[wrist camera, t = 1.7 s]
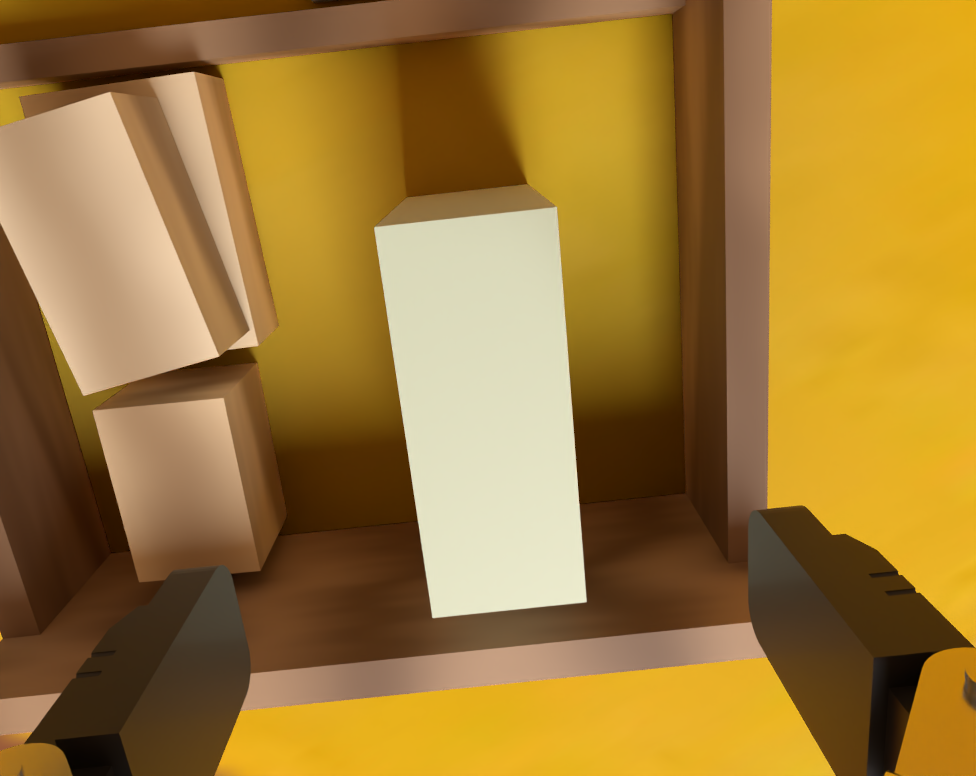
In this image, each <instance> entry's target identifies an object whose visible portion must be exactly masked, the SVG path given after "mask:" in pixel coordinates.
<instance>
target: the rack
mask: <svg viewBox="0 0 976 776" xmlns="http://www.w3.org/2000/svg"><path fill="white" fill-rule="evenodd" d="M672 13H673V50H674V86H675V122H676V159H677V195H678V231H679V267H680V304H681V340H682V376H683V413H684V449H685V485H686V493H683V494H673V495H664V496H654V497H645V498H635V499H626V500H616V501H607V502H597V503H588V504H579V507H580V520H581V533H582V546H583V560H584V573H585V586H586V599H587V602H584V603H574V604H564V605H555V606H545V607H535V608H526V609H516V610H506V611H497V612H487V613H477V614H468V615H458V616H448V617H439V618H432V611H431V604H430V598H429V591H428V584H427V578H426V571H425V564H424V558H423V551H422V544H421V538H420V531H419V524H418V521H416V522H406V523H397V524H387V525H378V526H368V527H359V528H349V529H340V530H330V531H321V532H311V533H301V534H292V535H282V536H277V538H276V540H275V542H274V544H273V546H272V548H271V550H270V552H269V554H268V556H267V559H266V561H265V563H264V565H263V567H262V569H261V571H254V572H244V573H233V574H231V576H232V579H233V583H234V587H235V592H236V596H237V600H238V604H239V609H240V613H241V617H242V621H243V626H244V630H245V634H246V638H247V643H248V647H249V652H250V661H251V674H250V683H249V688H248V692H247V695H246V698H245V700H244V703H243V705H242V708H241V710H240V711H243V710H252V709H262V708H272V707H282V706H292V705H302V704H311V703H321V702H331V701H341V700H351V699H360V698H370V697H380V696H390V695H400V694H409V693H419V692H429V691H439V690H449V689H458V688H468V687H478V686H488V685H498V684H507V683H517V682H527V681H537V680H547V679H556V678H566V677H576V676H586V675H596V674H605V673H615V672H625V671H635V670H645V669H654V668H664V667H674V666H684V665H694V664H703V663H713V662H723V661H733V660H743V659H752V658H762V657H767V656H766V654H765V653H764V651H763V649H762V648H761V646H760V644H759V642H758V640H757V638H756V635H755V633H754V630H753V626H752V622H751V618H750V613H749V604H748V523H749V517H750V514H751V512H752V511H754V510H763V509H767V471H768V360H769V250H770V139H771V29H772V0H388V1H379V2H370V3H362V4H353V5H344V6H335V7H326V8H318V9H309V10H300V11H291V12H282V13H273V14H265V15H256V16H247V17H238V18H229V19H221V20H212V21H203V22H194V23H185V24H176V25H168V26H159V27H150V28H141V29H132V30H124V31H115V32H106V33H97V34H88V35H79V36H71V37H62V38H53V39H44V40H35V41H27V42H18V43H9V44H0V89H6V88H15V87H24V86H33V85H42V84H51V83H60V82H68V81H77V80H86V79H95V78H104V77H113V76H122V75H131V74H139V73H148V72H157V71H166V70H175V69H184V68H193V67H202V66H210V65H219V64H228V63H237V62H246V61H255V60H264V59H273V58H281V57H290V56H299V55H308V54H317V53H326V52H335V51H344V50H352V49H361V48H370V47H379V46H388V45H397V44H406V43H415V42H423V41H432V40H441V39H450V38H459V37H468V36H477V35H485V34H494V33H503V32H512V31H521V30H530V29H539V28H548V27H556V26H565V25H574V24H583V23H592V22H601V21H610V20H619V19H627V18H636V17H645V16H654V15H663V14H672ZM164 581H165V580H159V581H149V582H139V580H138V577H137V573H136V569H135V565H134V562H133V558H132V554H131V551H130V552H120V553H111V552H110V548H109V545H108V541H107V538H106V534H105V531H104V528H103V524H102V521H101V517H100V514H99V511H98V507H97V504H96V500H95V497H94V494H93V490H92V487H91V483H90V480H89V477H88V473H87V470H86V466H85V463H84V459H83V456H82V453H81V449H80V446H79V442H78V439H77V436H76V432H75V429H74V425H73V422H72V419H71V415H70V412H69V408H68V405H67V402H66V398H65V395H64V391H63V388H62V384H61V381H60V378H59V374H58V371H57V367H56V364H55V361H54V357H53V354H52V350H51V347H50V344H49V340H48V337H47V333H46V330H45V326H44V323H43V320H42V316H41V313H40V309H39V306H38V303H37V299H36V296H35V294H34V292H33V290H32V288H31V286H30V284H29V281H28V279H27V277H26V275H25V273H24V271H23V269H22V267H21V265H20V263H19V261H18V259H17V256H16V254H15V252H14V250H13V248H12V246H11V244H10V242H9V240H8V238H7V236H6V234H5V231H4V229H3V227H2V225H1V223H0V632H1V635H2V637H3V639H2V640H1V641H0V735H7V734H17V733H27V732H33V731H34V730H35V728H36V727H37V726H38V724H39V723H40V722H41V720H42V719H43V718H44V716H45V715H46V713H47V712H48V711H49V709H50V708H51V707H52V705H53V704H54V703H55V701H56V700H57V699H58V697H59V696H60V695H61V693H62V692H63V690H64V689H65V688H66V686H67V685H68V684H69V682H70V681H71V680H72V679H74V678H76V673H77V672H78V670H79V669H80V667H81V666H82V665H83V663H84V662H85V661H86V659H87V658H91V653H92V651H93V650H94V649H95V647H96V646H97V644H98V643H99V642H100V640H101V639H102V638H103V636H104V635H105V634H106V632H107V631H108V630H109V628H111V627H112V626H113V625H115V624H116V623H117V622H119V621H120V620H121V619H122V618H124V617H125V616H126V615H128V614H129V613H130V612H132V611H133V610H134V609H135V608H137V607H138V606H146V605H148V604H149V603H150V601H151V600H152V598H153V597H154V596H155V594H156V593H157V591H158V590H159V588H160V587H161V586H162V584H163V583H164Z"/></svg>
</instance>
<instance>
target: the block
mask: <svg viewBox="0 0 976 776" xmlns="http://www.w3.org/2000/svg"><path fill="white" fill-rule="evenodd" d="M374 230H375V237H376V243H377V250H378V257H379V263H380V270H381V277H382V283H383V290H384V297H385V304H386V310H387V317H388V324H389V330H390V337H391V344H392V350H393V357H394V364H395V370H396V377H397V384H398V390H399V397H400V404H401V411H402V417H403V424H404V431H405V437H406V444H407V451H408V457H409V464H410V471H411V477H412V484H413V491H414V497H415V504H416V511H417V518H418V524H419V531H420V538H421V544H422V551H423V558H424V564H425V571H426V578H427V584H428V591H429V598H430V604H431V611H432V618H439V617H448V616H458V615H468V614H477V613H487V612H497V611H506V610H516V609H526V608H535V607H545V606H555V605H564V604H574V603H584V602H587V599H586V586H585V573H584V560H583V546H582V533H581V520H580V507H579V493H578V480H577V467H576V454H575V441H574V427H573V414H572V401H571V388H570V374H569V361H568V348H567V335H566V322H565V308H564V295H563V282H562V269H561V255H560V242H559V229H558V216H557V207H556V206H555V205H554V204H552V203H551V202H550V201H549V200H547V199H546V198H545V197H543V196H542V195H541V194H540V193H538V192H537V191H536V190H535V189H533V188H532V187H531V186H530V185H528V184H523V185H514V186H505V187H496V188H487V189H478V190H468V191H459V192H450V193H441V194H432V195H423V196H414V197H406V198H405V199H404V200H403V201H402V202H401V203H400V204H399V205H398V206H397V207H396V208H394V209H393V210H392V211H391V212H390V213H389V214H388V215H387V216H386V217H385V218H384V219H382V220H381V221H380V222H379V223H378V224H377V225H376V226H375V227H374Z"/></svg>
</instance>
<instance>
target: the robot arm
mask: <svg viewBox="0 0 976 776" xmlns="http://www.w3.org/2000/svg"><path fill="white" fill-rule="evenodd" d="M748 604H749V613H750V618H751V622H752V626H753V630H754V633H755V635H756V638H757V640H758V642H759V644H760V646H761V648H762V649H763V651H764V653H765V654H766V656H767V658H768V660H769V661H770V663H771V665H772V666H773V668H774V670H775V672H776V673H777V675H778V677H779V679H780V680H781V682H782V684H783V685H784V687H785V689H786V691H787V692H788V694H789V696H790V697H791V699H792V701H793V703H794V704H795V706H796V708H797V709H798V711H799V713H800V715H801V716H802V718H803V720H804V721H805V723H806V725H807V727H808V728H809V730H810V732H811V734H812V735H813V737H814V739H815V740H816V742H817V744H818V746H819V747H820V749H821V751H822V752H823V754H824V756H825V758H826V759H827V761H828V763H829V764H830V766H831V768H832V770H833V771H834V773H835V775H836V776H976V648H975V647H974V646H973V645H972V644H971V643H970V642H969V641H968V640H967V639H966V638H965V637H964V636H963V635H962V634H961V633H960V632H959V631H958V630H957V629H956V628H955V627H954V626H953V625H952V624H951V623H950V622H949V621H948V620H947V619H946V618H945V617H944V616H943V615H942V614H941V613H940V612H939V611H938V610H937V609H936V608H935V607H934V606H933V605H932V604H931V603H930V602H929V601H928V600H927V599H926V598H925V597H924V596H923V595H922V594H921V593H916V591H915V587H914V586H913V585H912V584H910V583H909V582H908V581H907V580H906V579H905V578H904V577H903V576H902V575H898V571H897V570H896V569H895V568H894V567H893V566H892V565H891V564H890V563H889V562H888V561H887V560H886V559H885V558H884V557H883V556H882V555H881V554H880V553H879V552H878V551H877V550H876V549H874V548H872V547H870V546H868V545H866V544H864V543H862V542H860V541H858V540H856V539H854V538H852V537H850V536H848V535H846V534H839V535H832V534H831V533H830V532H829V531H828V530H827V529H826V528H825V527H824V526H823V525H822V524H821V523H820V522H819V520H818V519H817V518H816V517H815V516H814V515H813V514H812V513H811V512H810V511H809V510H808V509H807V508H806V507H805V506H791V507H782V508H772V509H763V510H754V511H752V512H751V514H750V517H749V523H748ZM250 674H251V661H250V652H249V647H248V643H247V638H246V634H245V630H244V626H243V621H242V617H241V613H240V609H239V604H238V600H237V596H236V592H235V587H234V583H233V579H232V576H231V573H230V571H229V569H228V568H227V567H226V566H225V565H216V566H206V567H197V568H187V569H178V570H173V571H172V572H171V573H170V574H169V575H168V577H167V578H166V580H165V581H164V583H163V584H162V586H161V587H160V588H159V590H158V591H157V593H156V594H155V596H154V597H153V598H152V600H151V601H150V603H149V604H148V605H146V606H138V607H137V608H135V609H134V610H133V611H132V612H130V613H129V614H128V615H126V616H125V617H124V618H122V619H121V620H120V621H119V622H117V623H116V624H115V625H113V626H112V627H111V628H109V630H108V631H107V632H106V634H105V635H104V636H103V638H102V639H101V640H100V642H99V643H98V644H97V646H96V647H95V649H94V650H93V651H92V653H91V658H87V659H86V661H85V662H84V663H83V665H82V666H81V667H80V669H79V670H78V672H77V673H76V678H74V679H72V680H71V681H70V682H69V684H68V685H67V686H66V688H65V689H64V690H63V692H62V693H61V695H60V696H59V697H58V699H57V700H56V701H55V703H54V704H53V705H52V707H51V708H50V709H49V711H48V712H47V713H46V715H45V716H44V718H43V719H42V720H41V722H40V723H39V724H38V726H37V727H36V728H35V730H34V731H33V732H32V734H31V735H30V736H29V738H28V739H27V741H26V742H25V743H24V744H22V745H18V746H14V747H10V748H7V749H5V750H1V751H0V776H214V775H215V772H216V770H217V767H218V765H219V762H220V760H221V757H222V755H223V752H224V750H225V747H226V745H227V742H228V740H229V738H230V735H231V733H232V730H233V728H234V725H235V723H236V720H237V718H238V715H239V713H240V710H241V708H242V705H243V703H244V700H245V698H246V695H247V692H248V688H249V683H250Z"/></svg>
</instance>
